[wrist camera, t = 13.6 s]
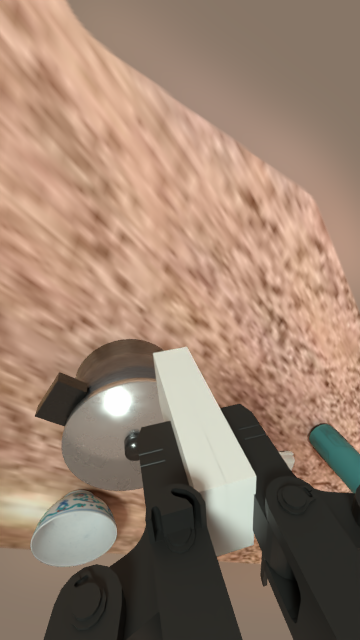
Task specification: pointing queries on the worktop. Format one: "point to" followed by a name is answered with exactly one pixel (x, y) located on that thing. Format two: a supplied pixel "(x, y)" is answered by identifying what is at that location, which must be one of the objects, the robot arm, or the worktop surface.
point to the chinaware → (74, 531)
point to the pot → (97, 376)
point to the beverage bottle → (337, 454)
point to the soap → (288, 458)
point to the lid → (111, 433)
